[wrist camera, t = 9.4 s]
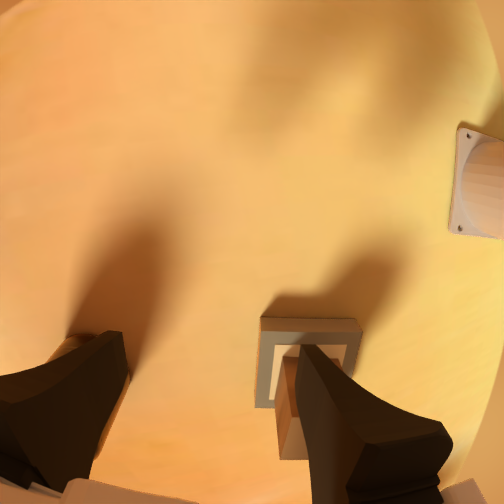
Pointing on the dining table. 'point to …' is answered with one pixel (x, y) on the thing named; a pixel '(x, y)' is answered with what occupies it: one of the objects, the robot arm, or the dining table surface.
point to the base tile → (288, 344)
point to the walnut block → (290, 412)
